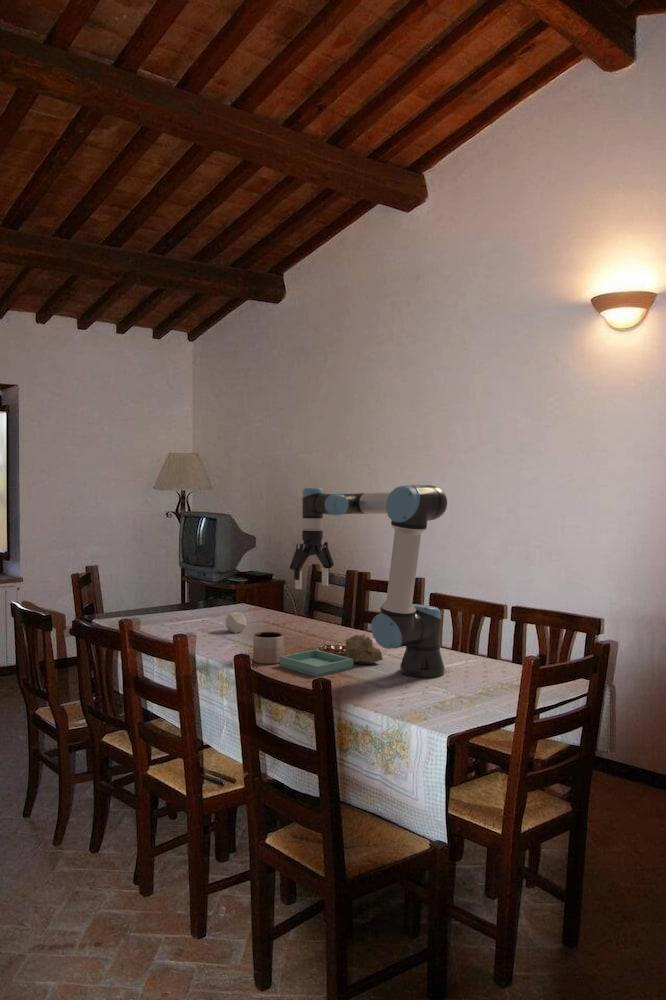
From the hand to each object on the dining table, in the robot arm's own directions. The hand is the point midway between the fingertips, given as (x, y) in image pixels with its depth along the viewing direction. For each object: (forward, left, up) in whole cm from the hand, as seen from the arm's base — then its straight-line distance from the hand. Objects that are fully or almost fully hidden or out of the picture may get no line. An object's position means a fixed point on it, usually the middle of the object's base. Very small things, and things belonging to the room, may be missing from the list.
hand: (311, 587), depth 308 cm
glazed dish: (-16, +12, -25) cm, 32 cm away
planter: (+2, +18, -25) cm, 31 cm away
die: (+50, -4, -25) cm, 56 cm away
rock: (-20, -7, -25) cm, 33 cm away
